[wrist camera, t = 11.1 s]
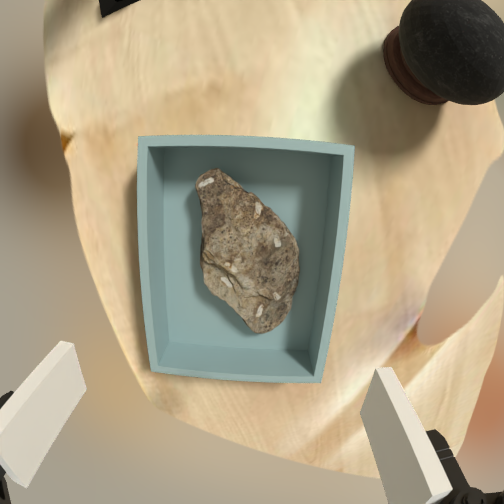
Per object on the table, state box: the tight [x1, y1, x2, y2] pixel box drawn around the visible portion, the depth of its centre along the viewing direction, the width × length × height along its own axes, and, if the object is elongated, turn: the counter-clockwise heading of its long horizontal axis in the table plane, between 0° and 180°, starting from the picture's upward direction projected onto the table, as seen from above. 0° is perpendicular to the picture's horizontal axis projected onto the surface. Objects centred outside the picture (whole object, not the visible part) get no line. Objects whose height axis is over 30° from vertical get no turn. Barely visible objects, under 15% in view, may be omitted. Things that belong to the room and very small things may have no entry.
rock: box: [195, 168, 300, 334], centre depth 33 cm, size 18×11×4 cm, turn 40°
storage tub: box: [137, 135, 355, 383], centre depth 33 cm, size 26×20×6 cm
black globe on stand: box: [383, 0, 504, 105], centre depth 22 cm, size 13×13×15 cm
